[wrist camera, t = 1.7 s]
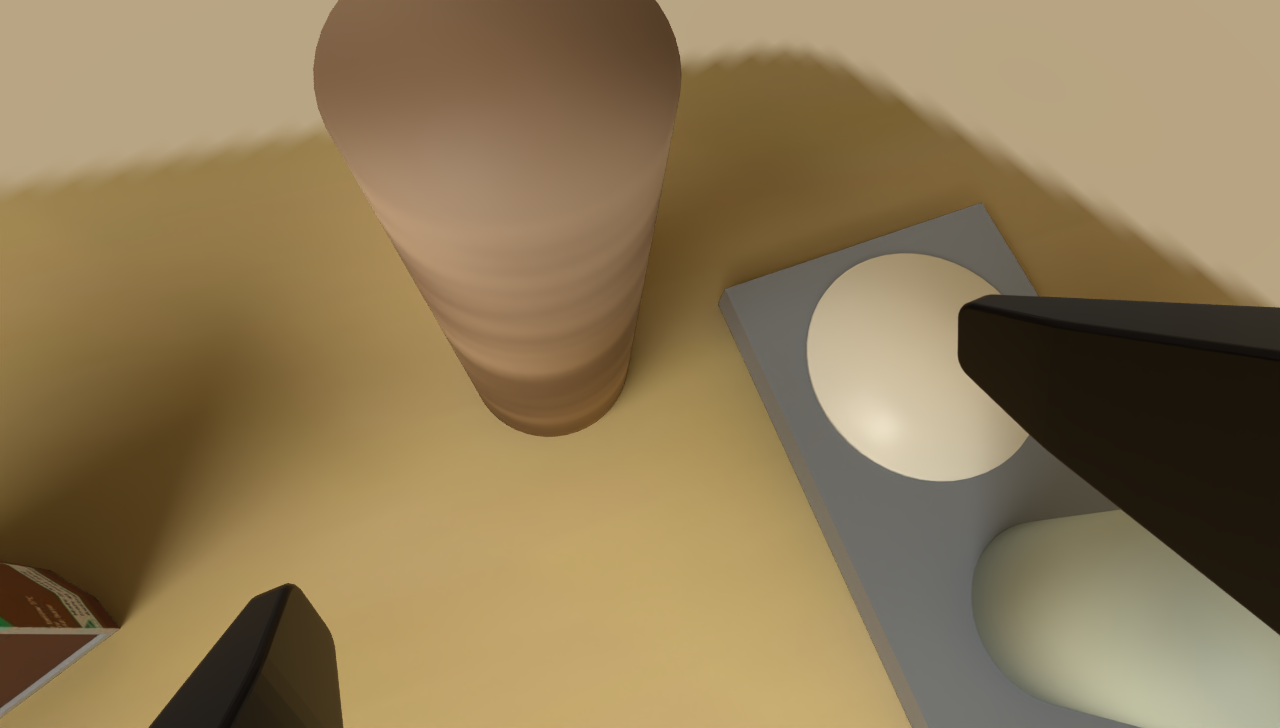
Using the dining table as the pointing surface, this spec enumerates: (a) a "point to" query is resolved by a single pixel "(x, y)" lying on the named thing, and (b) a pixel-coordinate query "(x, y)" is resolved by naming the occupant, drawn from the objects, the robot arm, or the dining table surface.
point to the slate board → (908, 450)
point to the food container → (43, 629)
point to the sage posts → (1122, 627)
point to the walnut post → (513, 178)
